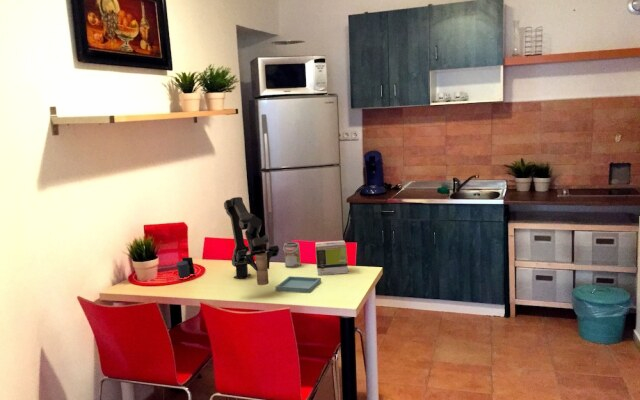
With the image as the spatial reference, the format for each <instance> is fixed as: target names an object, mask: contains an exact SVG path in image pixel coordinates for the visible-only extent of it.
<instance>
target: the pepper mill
mask: <svg viewBox="0 0 640 400" xmlns="http://www.w3.org/2000/svg"><path fill="white" fill-rule="evenodd" d="M254 261H255V263H256V266H257V271H256V270H255V273H256V283H257V286H264V285H265V286H266V285H268V284H269V282H270V281H269V269H268V267H267V254H265V253H259V254H256V255H255V256H254Z"/></svg>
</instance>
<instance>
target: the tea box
mask: <svg viewBox="0 0 640 400" xmlns="http://www.w3.org/2000/svg"><path fill="white" fill-rule="evenodd" d="M315 259H316V270H317V271H316V272H317V276H325V275H336V274H349V271H348V270H349V269H348V266H349V265H348V253H347V244H346V242H345V240H331V241H318V242H317V241H316V242H315Z"/></svg>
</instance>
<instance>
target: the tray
mask: <svg viewBox="0 0 640 400" xmlns="http://www.w3.org/2000/svg"><path fill="white" fill-rule="evenodd" d="M320 282H321V283H322V277H311V276H292V275H291V276H290V275H288V276H287V278H284V280H282V281H281V282H280V283H278V284H277V285H276V286H275V291H276V292H285V293H286V292H287V293H288V292H290V293H301V294H303V293H305V294H310V293H311V292H312V291H313V290H314V289H315V288H316V287H318V285H320Z"/></svg>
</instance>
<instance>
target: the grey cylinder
mask: <svg viewBox="0 0 640 400" xmlns="http://www.w3.org/2000/svg"><path fill="white" fill-rule="evenodd" d="M300 249H301V248H300V243H299V242H296V241H289V242H285V243H283V248H282V251H283V252H284V253H283V254H284V265H285V267H286V268H298V267H300V266H301V251H300Z"/></svg>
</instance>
